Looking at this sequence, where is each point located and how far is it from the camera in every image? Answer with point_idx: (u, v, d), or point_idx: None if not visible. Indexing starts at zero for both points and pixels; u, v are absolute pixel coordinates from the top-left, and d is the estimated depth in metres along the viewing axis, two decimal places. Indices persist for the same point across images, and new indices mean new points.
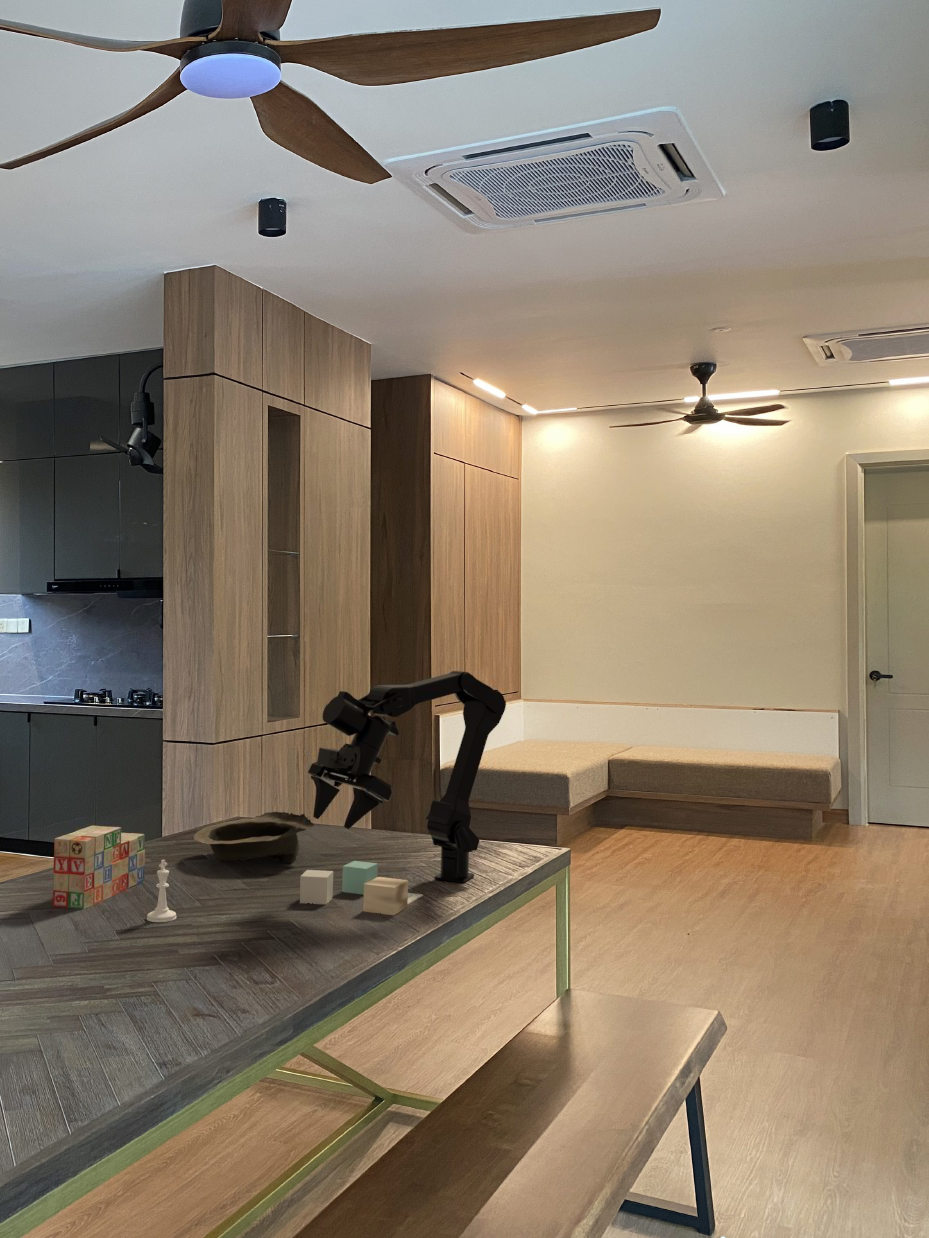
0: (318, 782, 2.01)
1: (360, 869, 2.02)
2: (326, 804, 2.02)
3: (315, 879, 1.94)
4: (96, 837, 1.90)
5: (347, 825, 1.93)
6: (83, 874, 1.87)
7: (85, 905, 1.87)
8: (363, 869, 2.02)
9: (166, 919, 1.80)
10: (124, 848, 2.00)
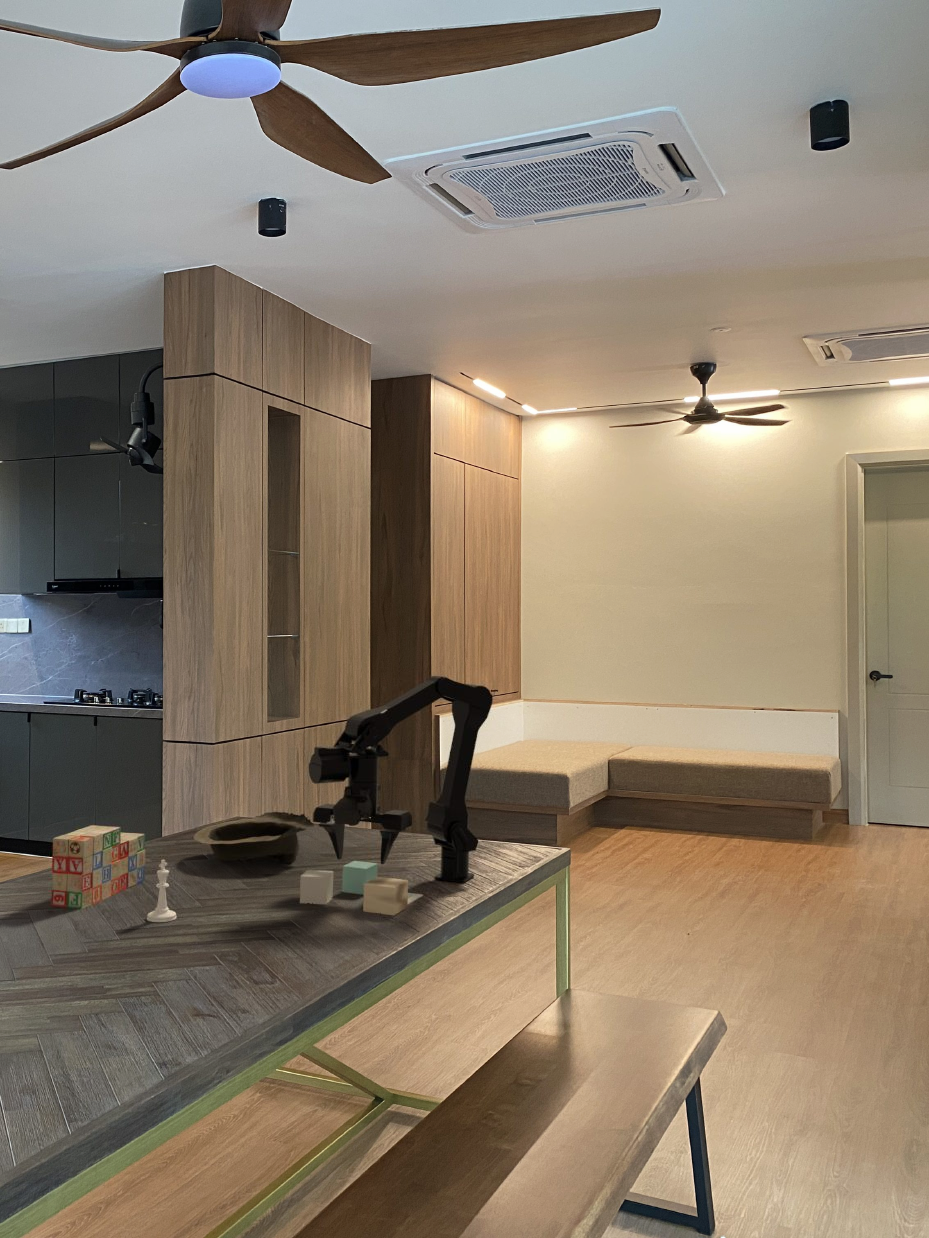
0: (331, 829, 2.05)
1: (360, 869, 2.02)
2: (342, 841, 2.08)
3: (315, 879, 1.94)
4: (95, 837, 1.90)
5: (383, 861, 2.03)
6: (81, 874, 1.87)
7: (83, 905, 1.88)
8: (363, 869, 2.02)
9: (166, 919, 1.80)
10: (124, 848, 2.00)
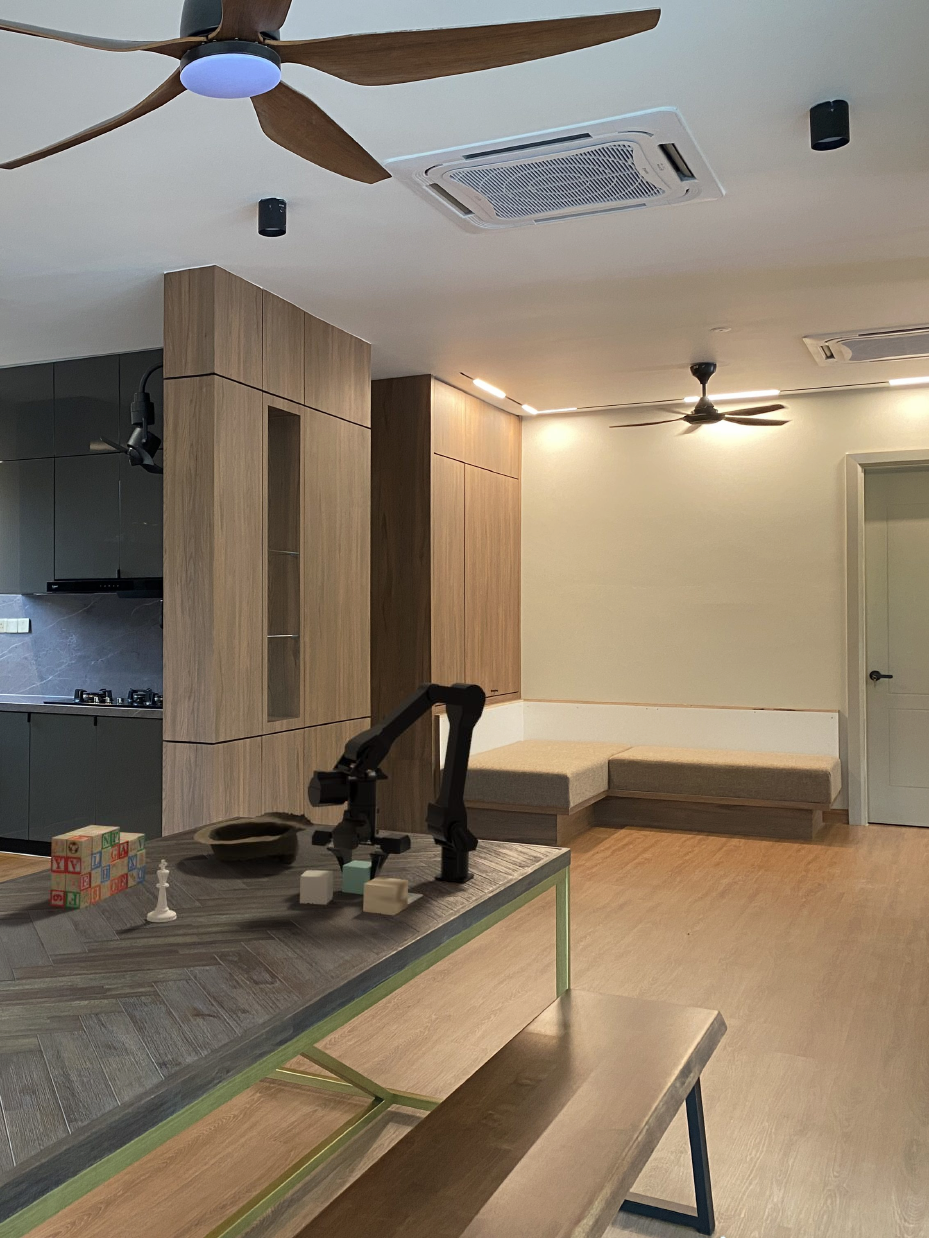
0: (338, 853, 2.04)
1: (360, 868, 2.02)
2: None
3: (315, 879, 1.94)
4: (93, 837, 1.90)
5: None
6: (79, 873, 1.87)
7: (82, 904, 1.88)
8: (363, 868, 2.02)
9: (166, 919, 1.80)
10: (123, 848, 2.00)
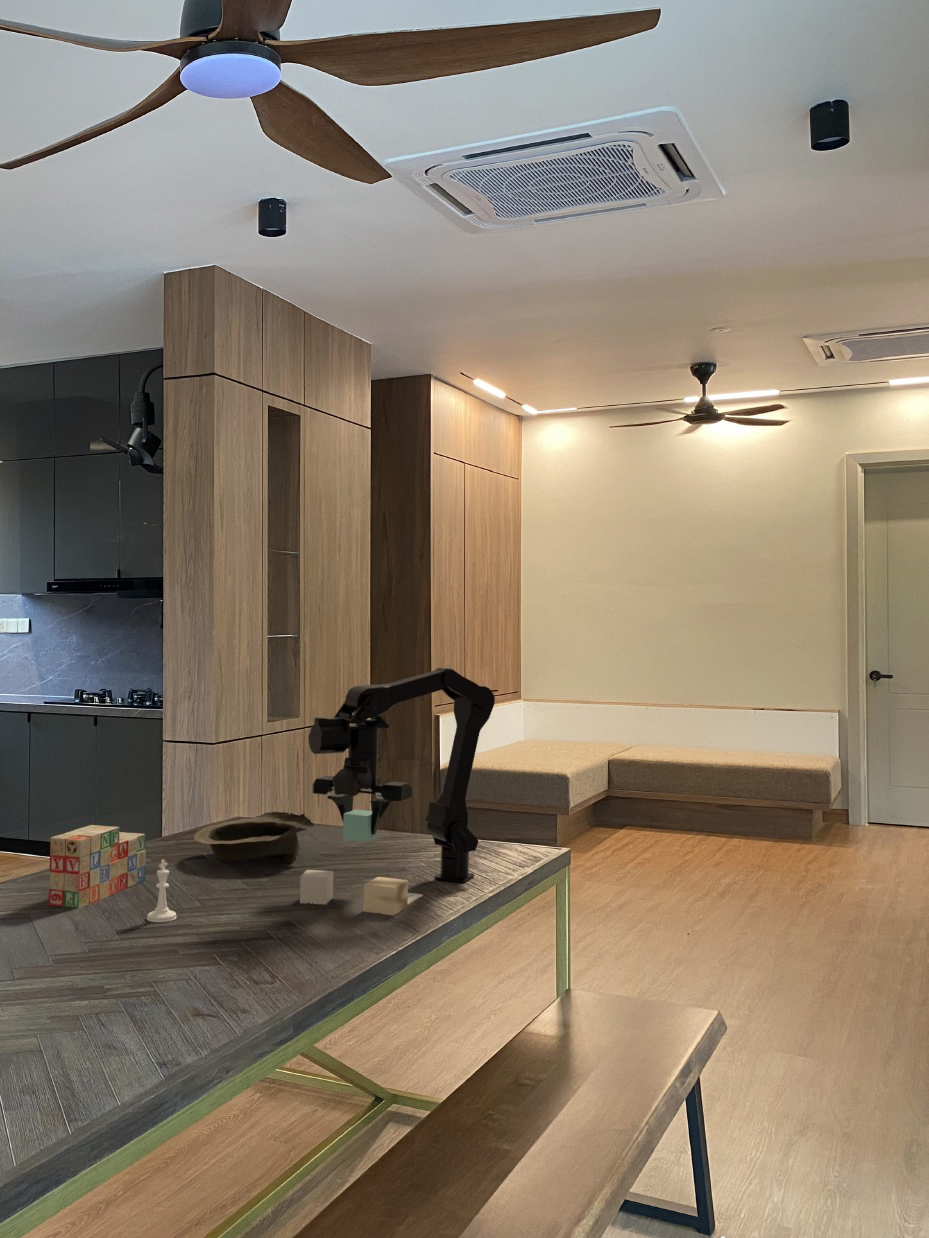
0: (339, 801, 2.04)
1: (361, 816, 2.02)
2: None
3: (315, 879, 1.94)
4: (92, 836, 1.91)
5: (374, 832, 2.03)
6: (78, 873, 1.87)
7: (80, 904, 1.88)
8: (364, 816, 2.02)
9: (166, 919, 1.80)
10: (123, 848, 2.00)
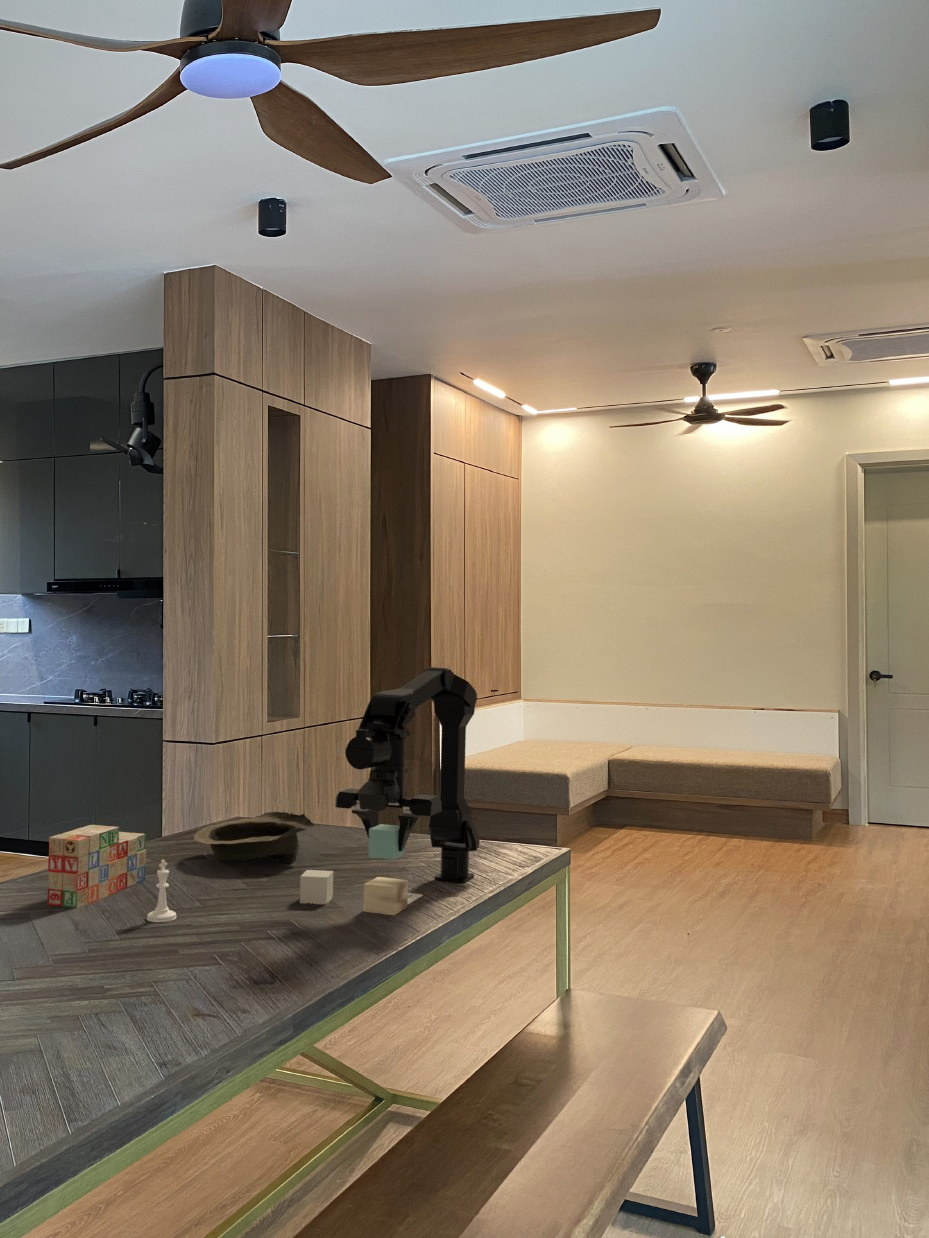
0: (364, 816, 1.91)
1: (388, 832, 1.89)
2: None
3: (315, 879, 1.94)
4: (90, 836, 1.91)
5: (401, 848, 1.91)
6: (76, 873, 1.88)
7: (78, 904, 1.88)
8: (391, 832, 1.89)
9: (166, 919, 1.80)
10: (122, 848, 2.00)
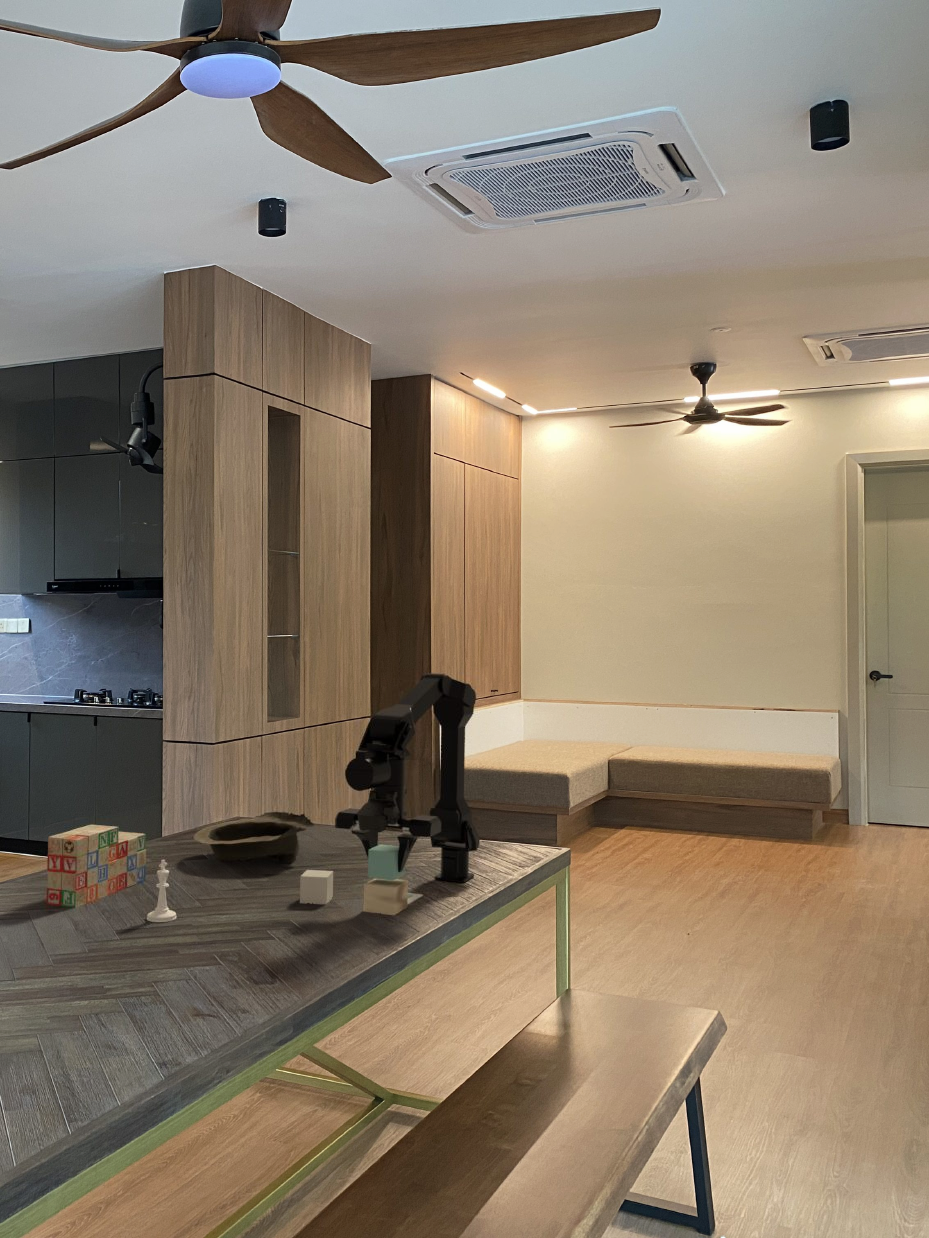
0: (364, 836, 1.91)
1: (387, 853, 1.89)
2: None
3: (315, 879, 1.94)
4: (89, 836, 1.91)
5: (401, 869, 1.91)
6: (75, 873, 1.88)
7: (77, 904, 1.88)
8: (390, 853, 1.89)
9: (166, 919, 1.80)
10: (122, 847, 2.01)
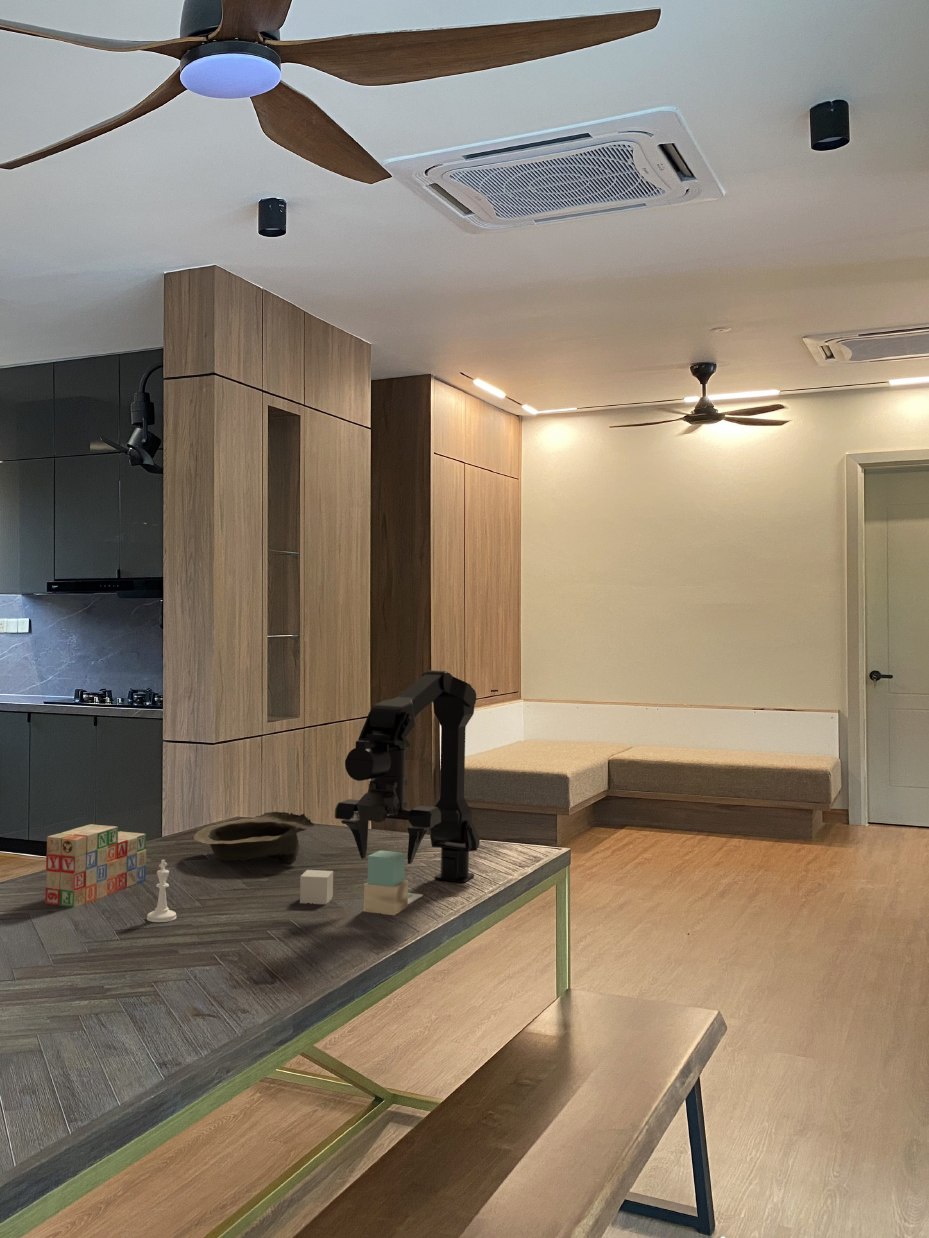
0: (354, 826, 1.92)
1: (387, 859, 1.89)
2: (366, 839, 1.95)
3: (315, 879, 1.94)
4: (88, 836, 1.91)
5: (411, 861, 1.90)
6: (73, 872, 1.88)
7: (75, 903, 1.88)
8: (390, 859, 1.89)
9: (166, 919, 1.80)
10: (121, 847, 2.01)
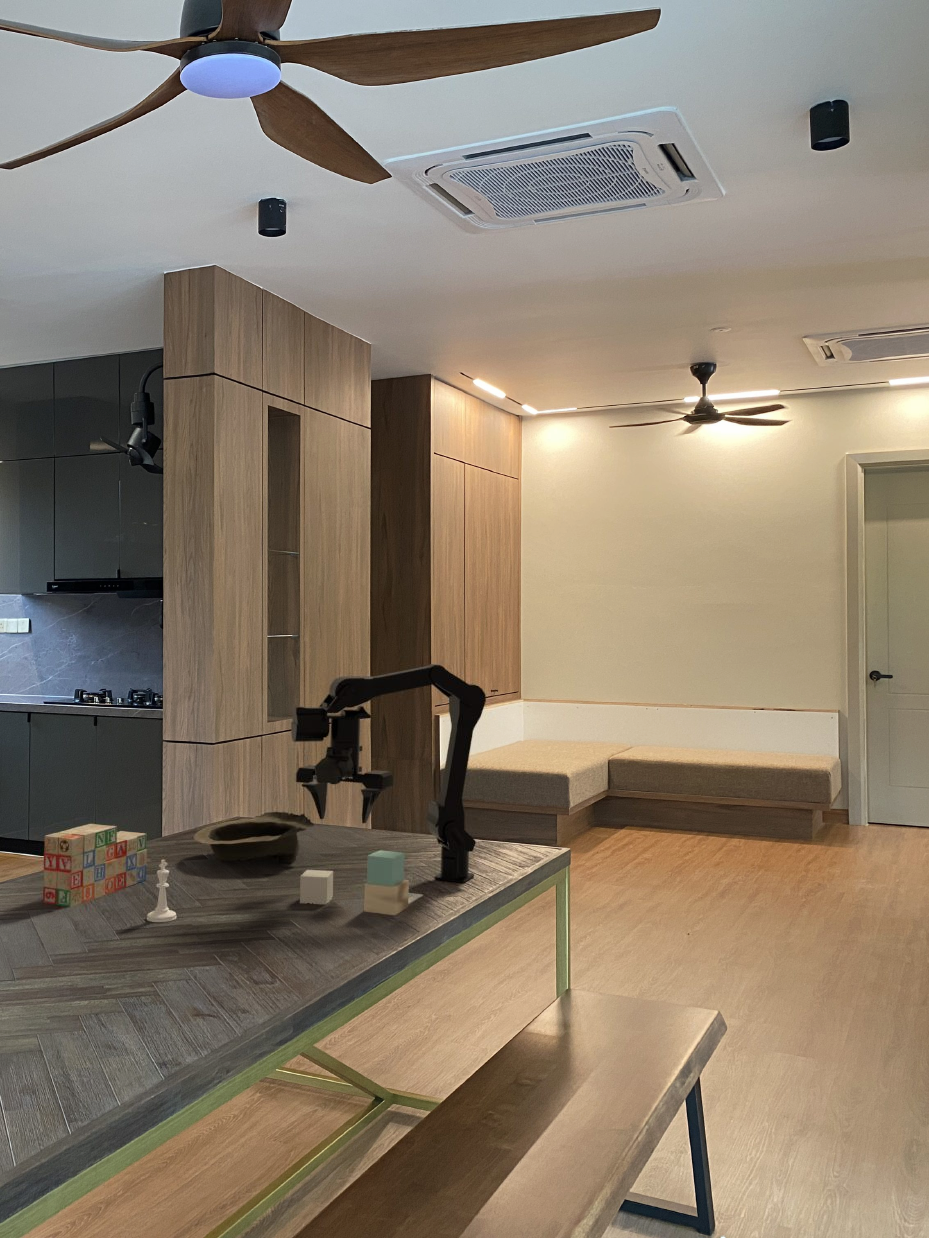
0: (313, 789, 2.08)
1: (386, 859, 1.89)
2: (325, 801, 2.11)
3: (315, 879, 1.94)
4: (85, 835, 1.91)
5: (365, 821, 2.06)
6: (70, 872, 1.88)
7: (72, 903, 1.89)
8: (389, 859, 1.89)
9: (166, 919, 1.80)
10: (121, 847, 2.01)
